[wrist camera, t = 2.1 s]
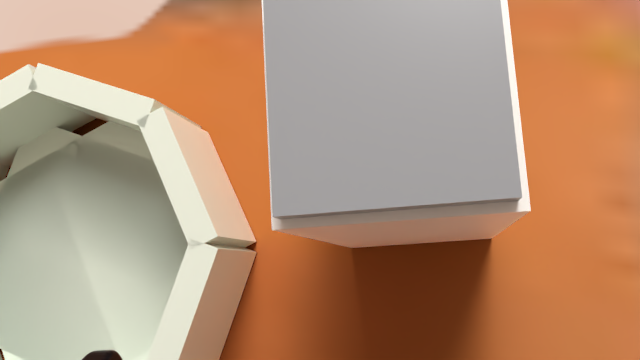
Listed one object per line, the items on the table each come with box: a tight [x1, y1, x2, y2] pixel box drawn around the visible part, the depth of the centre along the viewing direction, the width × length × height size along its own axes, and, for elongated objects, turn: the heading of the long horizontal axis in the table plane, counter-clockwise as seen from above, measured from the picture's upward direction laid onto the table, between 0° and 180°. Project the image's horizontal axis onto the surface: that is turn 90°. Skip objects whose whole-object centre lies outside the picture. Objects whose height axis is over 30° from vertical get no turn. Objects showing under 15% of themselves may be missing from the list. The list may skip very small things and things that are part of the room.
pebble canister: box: [262, 0, 531, 248], centre depth 17 cm, size 5×5×11 cm
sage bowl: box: [0, 63, 257, 360], centre depth 22 cm, size 13×13×4 cm
